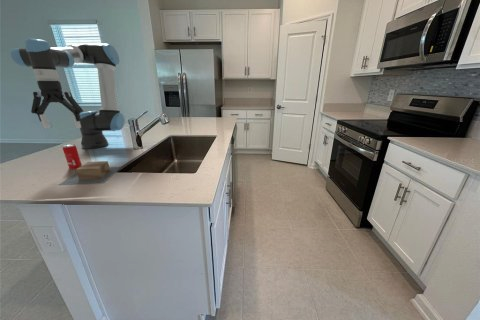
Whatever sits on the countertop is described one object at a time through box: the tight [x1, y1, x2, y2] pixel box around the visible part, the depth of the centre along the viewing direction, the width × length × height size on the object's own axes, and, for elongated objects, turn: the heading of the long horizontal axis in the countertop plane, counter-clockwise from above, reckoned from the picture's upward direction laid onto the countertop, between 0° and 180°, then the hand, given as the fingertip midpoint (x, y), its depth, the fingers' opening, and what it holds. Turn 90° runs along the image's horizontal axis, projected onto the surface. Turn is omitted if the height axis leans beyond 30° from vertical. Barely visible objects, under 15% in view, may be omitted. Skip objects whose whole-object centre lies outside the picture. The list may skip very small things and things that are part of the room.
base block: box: [75, 160, 110, 180], centre depth 93 cm, size 9×9×5 cm
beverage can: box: [62, 144, 83, 170], centre depth 100 cm, size 5×5×12 cm
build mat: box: [58, 166, 122, 186], centre depth 94 cm, size 18×18×1 cm
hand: (63, 128), depth 95 cm, fingers open, 13 cm apart
